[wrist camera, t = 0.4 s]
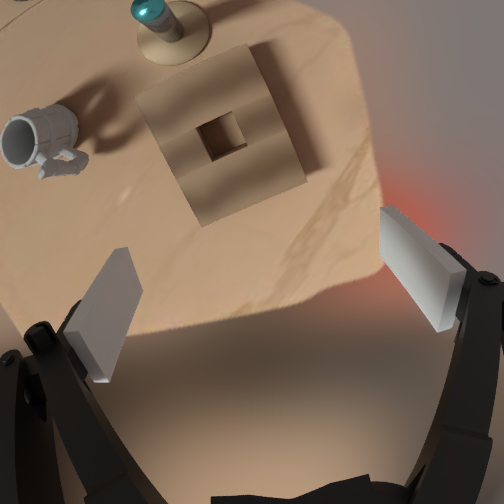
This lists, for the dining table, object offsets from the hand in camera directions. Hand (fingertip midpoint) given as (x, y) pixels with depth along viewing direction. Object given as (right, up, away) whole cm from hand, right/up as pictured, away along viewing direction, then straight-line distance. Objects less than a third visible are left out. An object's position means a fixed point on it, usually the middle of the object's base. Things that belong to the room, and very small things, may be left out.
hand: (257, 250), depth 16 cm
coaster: (-10, +27, +15) cm, 32 cm away
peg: (-10, +26, +15) cm, 32 cm away
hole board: (-4, +14, +22) cm, 26 cm away
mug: (-25, +15, +20) cm, 36 cm away
